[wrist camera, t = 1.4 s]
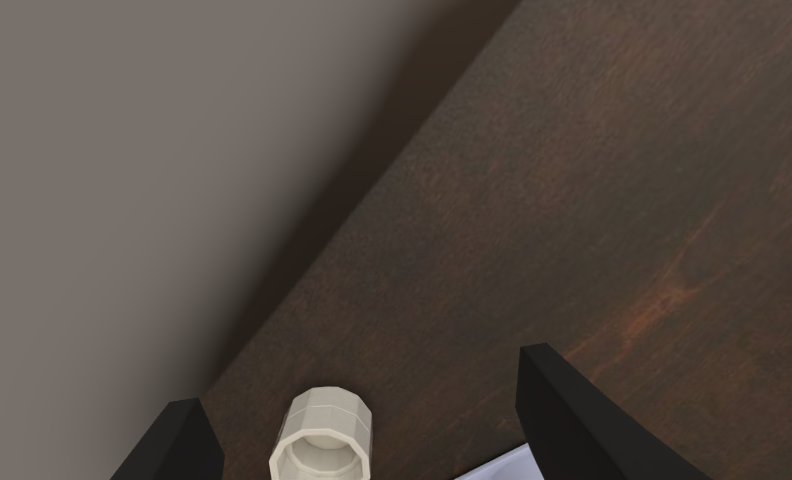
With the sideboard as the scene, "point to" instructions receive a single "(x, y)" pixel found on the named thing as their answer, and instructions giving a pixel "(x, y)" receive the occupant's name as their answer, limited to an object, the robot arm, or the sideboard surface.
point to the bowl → (324, 438)
